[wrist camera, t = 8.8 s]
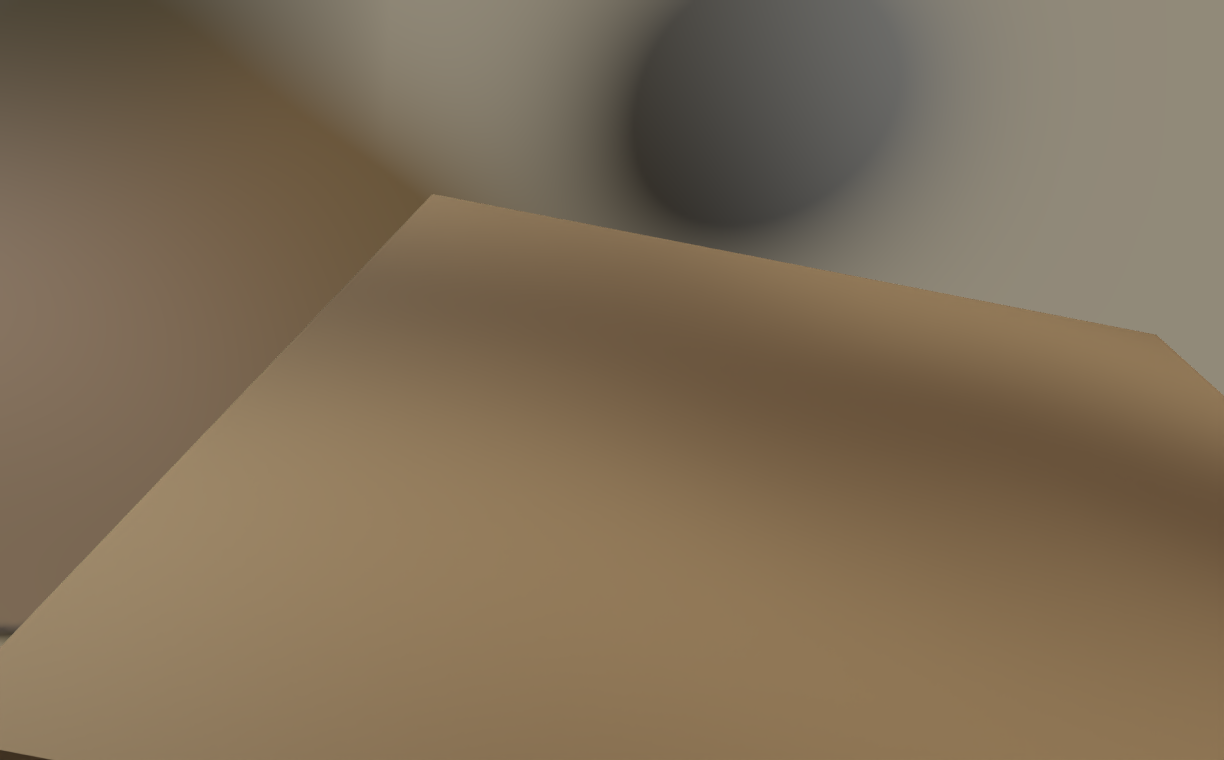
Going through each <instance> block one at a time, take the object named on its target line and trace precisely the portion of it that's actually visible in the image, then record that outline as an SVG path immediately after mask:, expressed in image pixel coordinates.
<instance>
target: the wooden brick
mask: <svg viewBox="0 0 1224 760" xmlns="http://www.w3.org/2000/svg"><path fill="white" fill-rule="evenodd" d="M0 760H1224V396H1223V395H1222V394H1221V393H1220V392H1219V391H1218V390H1217V389H1216V388H1215V387H1213V386H1212V385H1211V384H1210V383H1209V382H1208V381H1207V380H1206V379H1204V378H1203V377H1202V376H1201V375H1200V374H1199V373H1198V372H1197V371H1196V370H1195V369H1193V368H1192V367H1191V366H1190V365H1189V364H1188V363H1187V362H1186V361H1185V360H1184V359H1182V358H1181V357H1180V356H1179V355H1178V354H1177V353H1176V352H1175V351H1173V349H1171V348H1170V347H1169V346H1168V345H1167V344H1166V343H1165V342H1164V341H1162V340H1161V339H1160V338H1159V337H1158V336H1157V335H1154V334H1149V333H1144V332H1139V331H1134V330H1129V329H1123V328H1118V327H1113V326H1108V325H1103V324H1098V323H1093V322H1088V321H1082V320H1077V319H1072V318H1067V317H1062V316H1057V315H1051V314H1046V313H1041V312H1036V311H1031V310H1026V309H1021V308H1015V307H1010V306H1005V305H1000V304H995V303H990V302H985V301H979V300H975V299H969V298H964V297H959V296H954V295H949V294H944V293H938V292H933V291H928V290H923V289H918V288H913V287H907V286H903V285H897V284H892V283H887V282H882V281H877V280H872V279H867V278H861V277H855V276H851V275H846V274H841V273H836V272H831V271H825V270H820V269H815V268H810V267H805V266H800V265H794V264H790V263H784V262H779V261H774V260H769V259H763V258H759V257H753V256H748V255H743V254H738V253H732V252H728V251H723V250H718V249H712V248H707V247H702V246H697V245H692V244H686V243H681V242H676V241H671V240H666V239H661V238H656V237H651V236H645V235H640V234H635V233H630V232H625V231H620V230H615V229H610V228H604V227H599V226H594V225H589V224H584V223H579V222H574V221H568V220H563V219H558V218H553V217H548V216H543V215H537V214H532V213H527V212H522V211H517V210H511V209H507V208H502V207H497V206H491V205H486V204H481V203H476V202H471V201H466V200H461V199H455V198H450V197H445V196H440V195H435V194H432V195H431V196H430V197H429V198H428V199H427V200H426V202H425V203H424V204H423V205H422V206H421V207H420V208H419V209H418V210H417V211H416V212H415V213H414V214H413V215H412V216H411V217H410V218H409V219H408V220H407V222H406V223H405V224H404V225H403V226H402V227H401V228H400V229H399V230H398V231H397V232H396V233H395V234H394V235H393V236H392V237H391V238H390V239H389V240H388V241H387V242H386V244H384V246H383V247H382V248H381V249H380V250H379V251H378V252H377V253H376V254H375V255H374V256H373V257H372V258H371V259H370V260H369V261H368V262H367V263H366V264H365V265H364V266H363V268H362V269H361V270H360V271H359V272H358V273H357V274H356V275H355V276H354V277H353V278H352V279H351V280H350V281H349V282H348V283H347V284H346V285H345V286H344V287H343V288H342V290H341V291H340V292H339V293H338V294H337V295H336V296H335V297H334V298H333V299H332V300H331V301H330V302H329V303H328V304H327V305H326V306H325V307H324V308H323V309H322V311H321V312H320V313H319V314H318V315H317V316H316V317H315V318H314V319H313V320H312V321H311V322H310V323H309V324H308V325H307V326H306V327H305V329H303V330H302V331H301V333H300V334H299V335H298V336H297V337H296V338H295V339H294V340H293V341H292V342H291V343H290V344H289V345H288V346H287V347H286V348H285V349H284V350H283V351H282V352H281V354H280V355H279V356H278V357H277V358H276V359H275V360H274V361H273V362H272V363H271V364H270V365H269V366H268V367H267V368H266V369H265V371H263V372H262V374H261V375H260V376H259V377H258V378H257V379H256V380H255V381H254V382H253V383H252V384H251V385H250V386H249V387H248V388H247V389H246V390H245V392H243V393H242V394H241V395H240V397H239V398H238V399H237V400H236V401H235V402H234V403H233V404H232V405H231V406H230V407H229V408H228V409H227V410H226V411H225V412H224V413H223V414H222V415H221V416H220V417H219V419H218V420H217V421H216V422H215V423H214V424H213V425H212V426H211V427H210V428H209V429H208V430H207V431H206V432H205V433H204V434H203V435H202V436H201V437H200V438H199V440H198V441H197V442H196V443H195V444H194V445H193V446H192V447H191V448H190V449H189V450H188V451H187V452H186V453H185V454H184V455H183V456H182V457H181V458H180V459H179V461H178V462H177V463H176V464H175V465H174V466H173V467H172V468H171V469H170V470H169V471H168V472H167V473H166V474H165V475H164V476H163V477H162V478H161V479H160V480H159V481H158V482H157V484H156V485H155V486H154V487H153V488H152V489H151V490H150V491H149V492H148V493H147V494H146V495H145V496H144V497H143V498H142V499H141V500H140V501H139V502H138V503H137V505H136V506H135V507H134V508H133V509H132V510H131V511H130V512H129V513H128V514H127V515H126V516H125V517H124V518H123V519H122V520H121V521H120V522H119V523H118V524H117V525H116V527H115V528H114V529H113V530H112V531H111V532H110V533H109V534H108V535H107V536H106V537H105V538H104V539H103V540H102V541H101V542H100V543H99V544H98V545H97V547H96V548H95V549H94V550H93V551H92V552H91V553H90V554H89V555H88V556H87V557H86V558H85V559H84V560H83V561H82V562H81V563H80V565H78V566H77V567H76V568H75V570H74V571H73V572H72V573H71V574H70V575H69V576H68V577H67V578H66V579H65V580H64V581H63V582H62V584H60V585H59V586H58V587H57V588H56V589H55V590H54V592H53V593H52V594H51V595H50V596H49V597H48V598H47V599H46V600H45V601H44V602H43V603H42V604H41V605H40V606H39V607H38V608H37V609H36V610H35V611H34V613H33V614H32V615H31V616H30V617H29V618H28V619H27V620H26V621H25V622H24V623H23V624H22V625H21V626H20V627H19V628H18V629H17V630H16V631H15V632H14V633H13V635H12V636H11V637H10V638H9V639H8V640H7V641H6V642H5V643H4V644H3V645H2V646H1V647H0Z"/></svg>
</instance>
